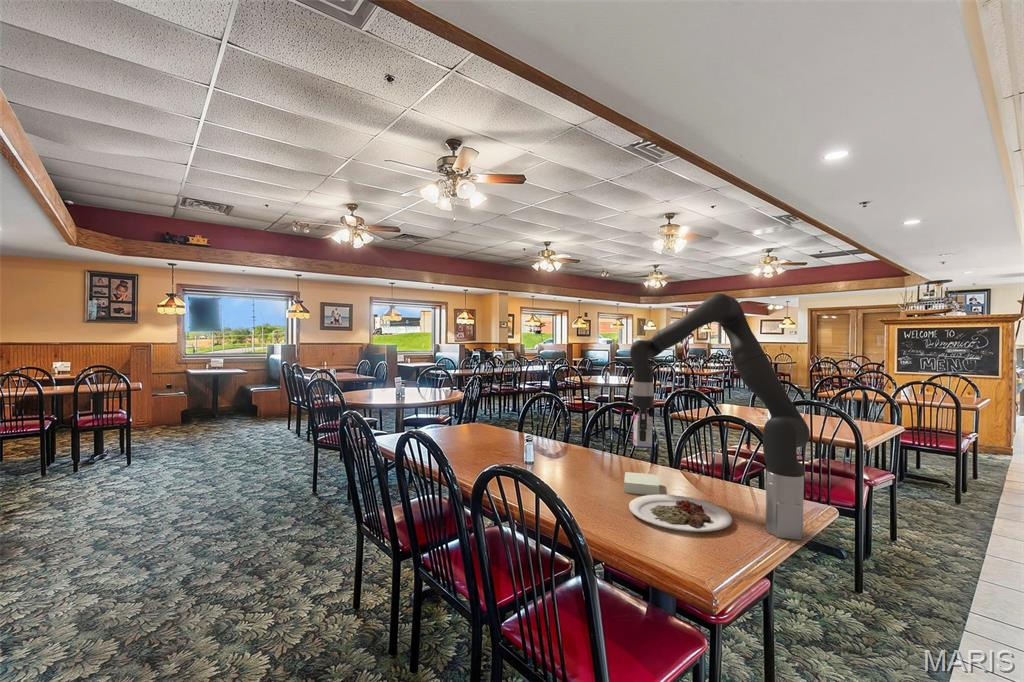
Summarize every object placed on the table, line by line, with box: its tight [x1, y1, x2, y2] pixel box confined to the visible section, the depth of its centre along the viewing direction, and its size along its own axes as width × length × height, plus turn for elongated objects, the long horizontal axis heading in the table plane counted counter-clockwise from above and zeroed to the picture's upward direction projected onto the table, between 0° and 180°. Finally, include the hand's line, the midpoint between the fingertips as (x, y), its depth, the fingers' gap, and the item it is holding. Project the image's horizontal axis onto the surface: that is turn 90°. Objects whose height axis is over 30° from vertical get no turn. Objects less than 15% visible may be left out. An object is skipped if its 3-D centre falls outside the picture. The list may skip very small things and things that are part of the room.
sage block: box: [623, 471, 660, 496], centre depth 169 cm, size 14×12×4 cm
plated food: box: [628, 494, 733, 533], centre depth 142 cm, size 30×30×3 cm
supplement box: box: [632, 413, 654, 449], centre depth 169 cm, size 6×6×12 cm
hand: (642, 439), depth 169 cm, fingers closed on supplement box, 6 cm apart
